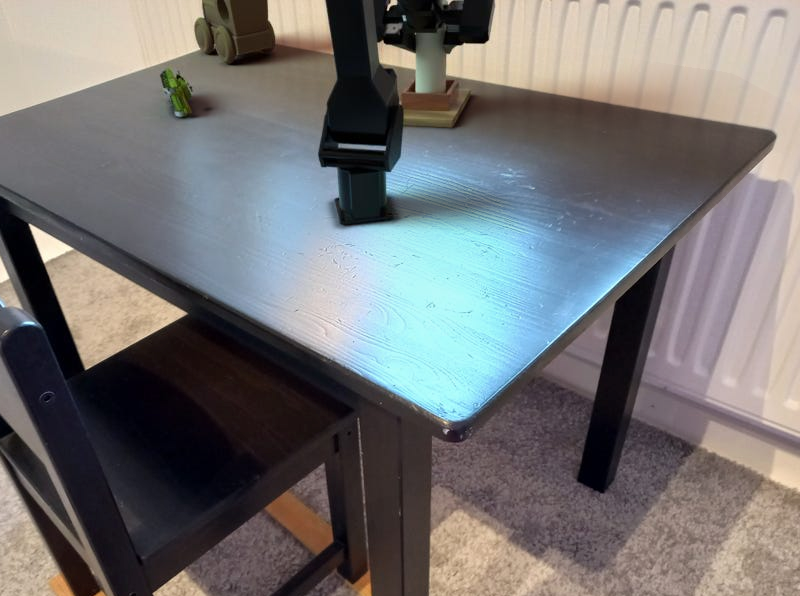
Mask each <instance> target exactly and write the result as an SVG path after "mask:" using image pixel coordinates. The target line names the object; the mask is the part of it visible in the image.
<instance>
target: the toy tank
mask: <svg viewBox="0 0 800 596" xmlns="http://www.w3.org/2000/svg"><path fill="white" fill-rule="evenodd" d="M191 69H192V68H191ZM159 77H160V81H161V84H162V88H163V91H164V94H166V95H169V96H168V99H169V101H170V104H171V109H172V111H173V114H174V116H175V117H178V118H182V117H187V116H189V114H192V109H191V107H190V104H189V103H188V101H189V100H191V98H192V93H193V91H194V89H193V86H192V85H189V82H188V81H187V82H186V79H185V77H183V76H182V75H181V74H180V70H177V73H176V75H174V72H173V71H172V69H170V68H169V67H167V68H165V69H164V70H163V71H161V73H160V74H159Z"/></svg>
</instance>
